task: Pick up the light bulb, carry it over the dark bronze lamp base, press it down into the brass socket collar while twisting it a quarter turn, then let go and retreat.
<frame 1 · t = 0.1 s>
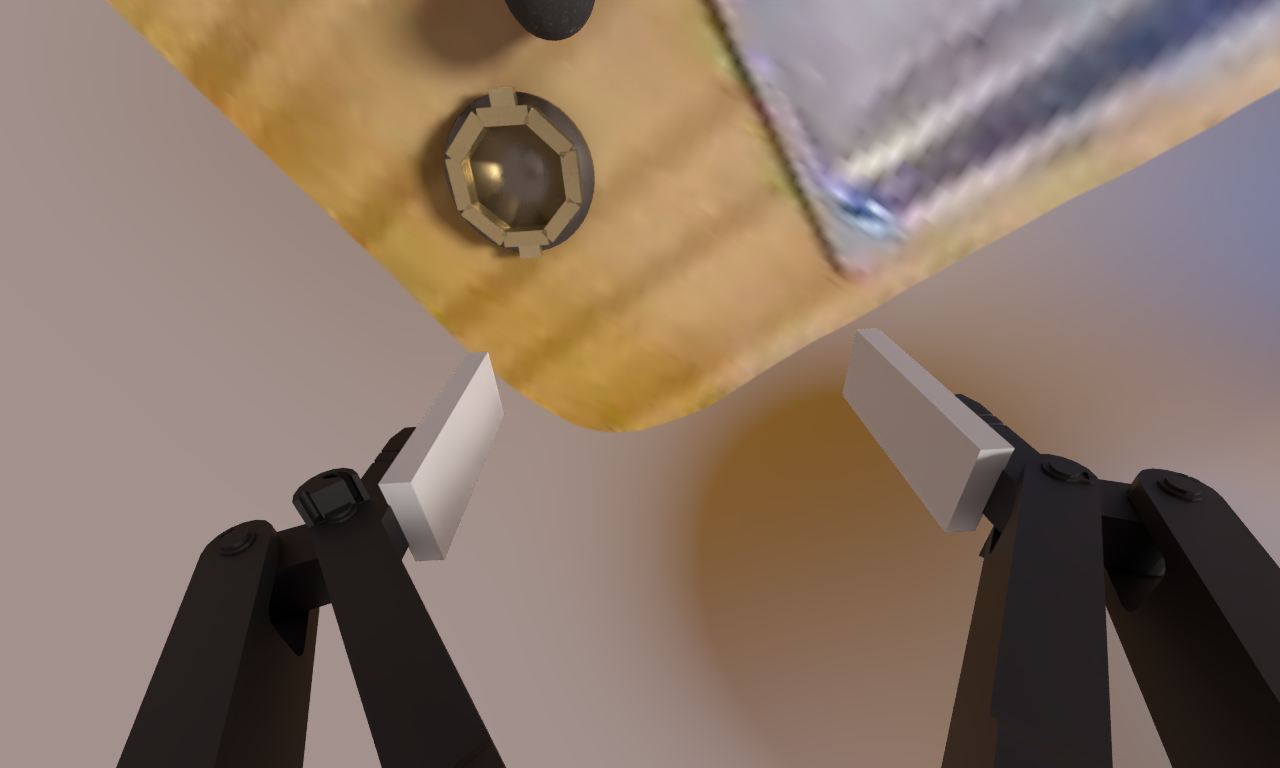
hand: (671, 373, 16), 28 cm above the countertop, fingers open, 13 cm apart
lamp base: (523, 175, 38), on the countertop
light bulb: (564, 5, 33), on the countertop
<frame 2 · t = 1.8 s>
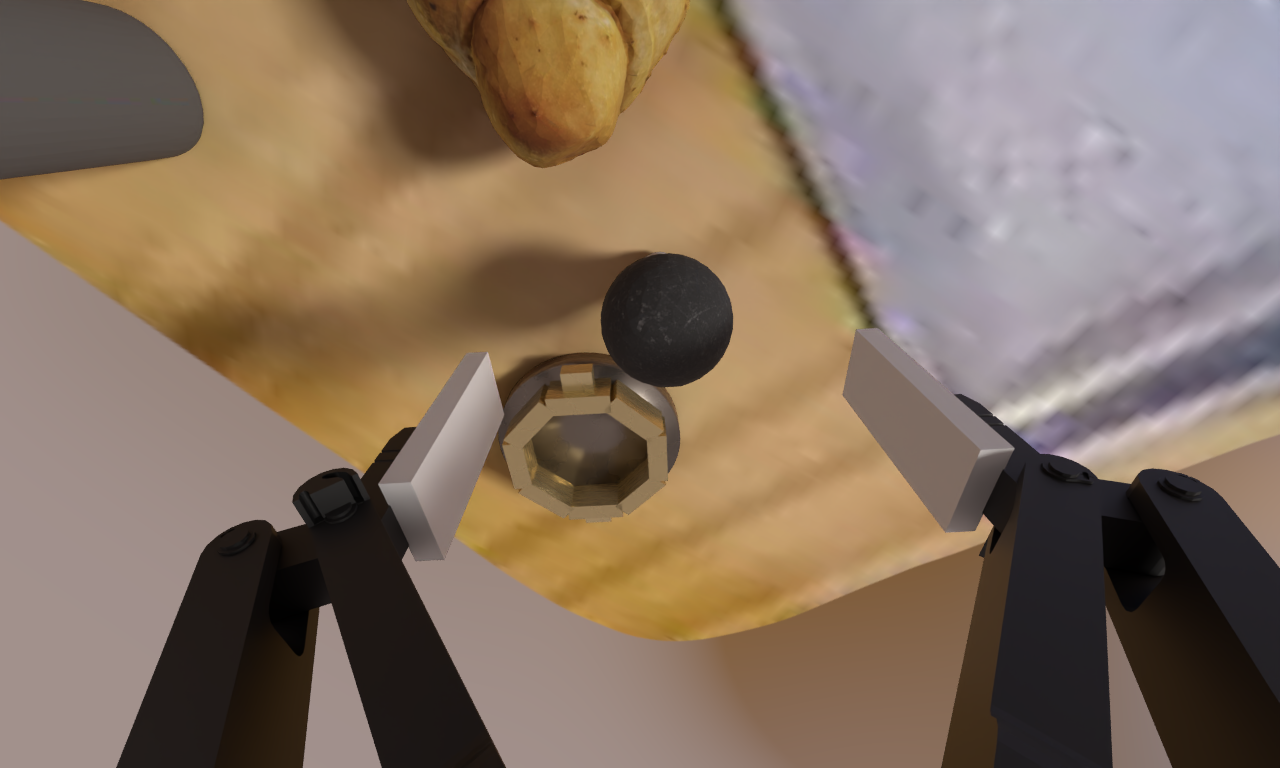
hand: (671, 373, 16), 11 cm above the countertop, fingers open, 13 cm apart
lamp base: (591, 429, 31), on the countertop
bottle: (137, 86, 21), on the countertop
light bulb: (657, 268, 26), on the countertop
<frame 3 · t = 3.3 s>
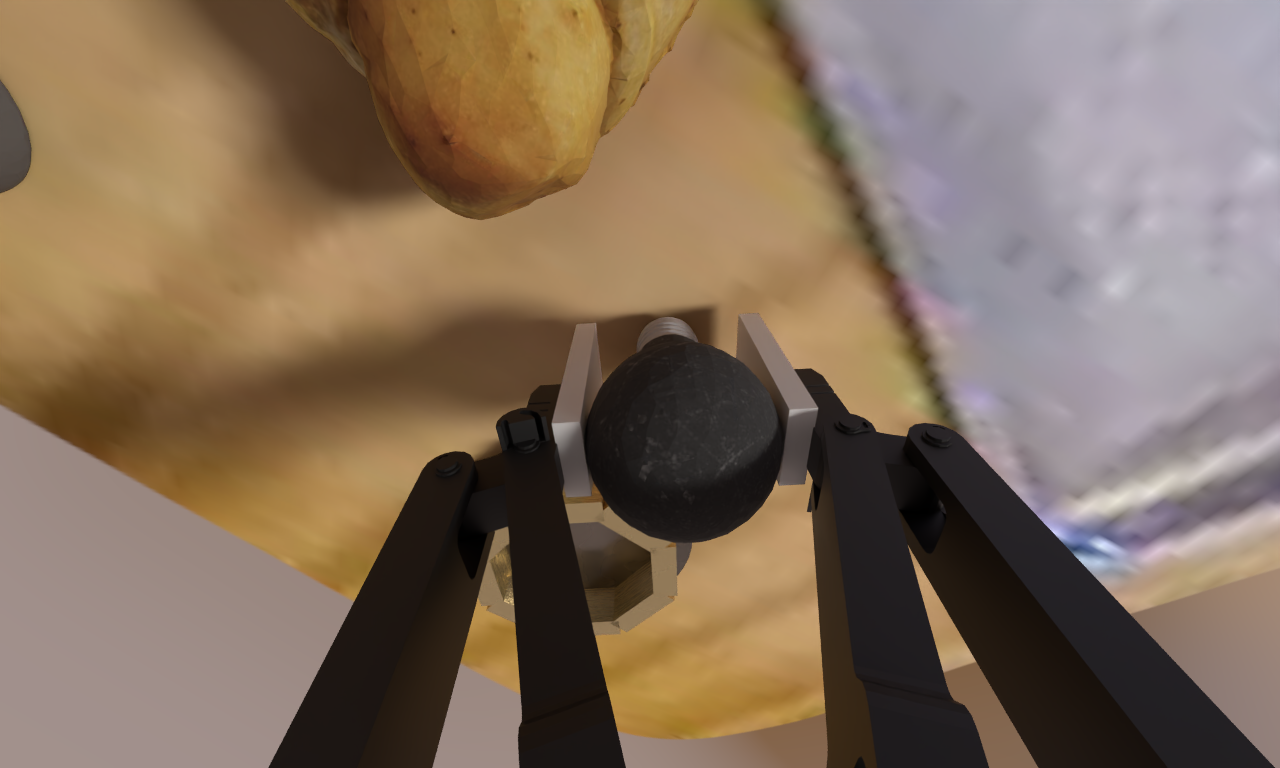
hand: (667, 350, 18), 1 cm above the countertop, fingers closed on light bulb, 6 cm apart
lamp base: (580, 521, 25), on the countertop
light bulb: (665, 333, 19), on the countertop, touching gripper
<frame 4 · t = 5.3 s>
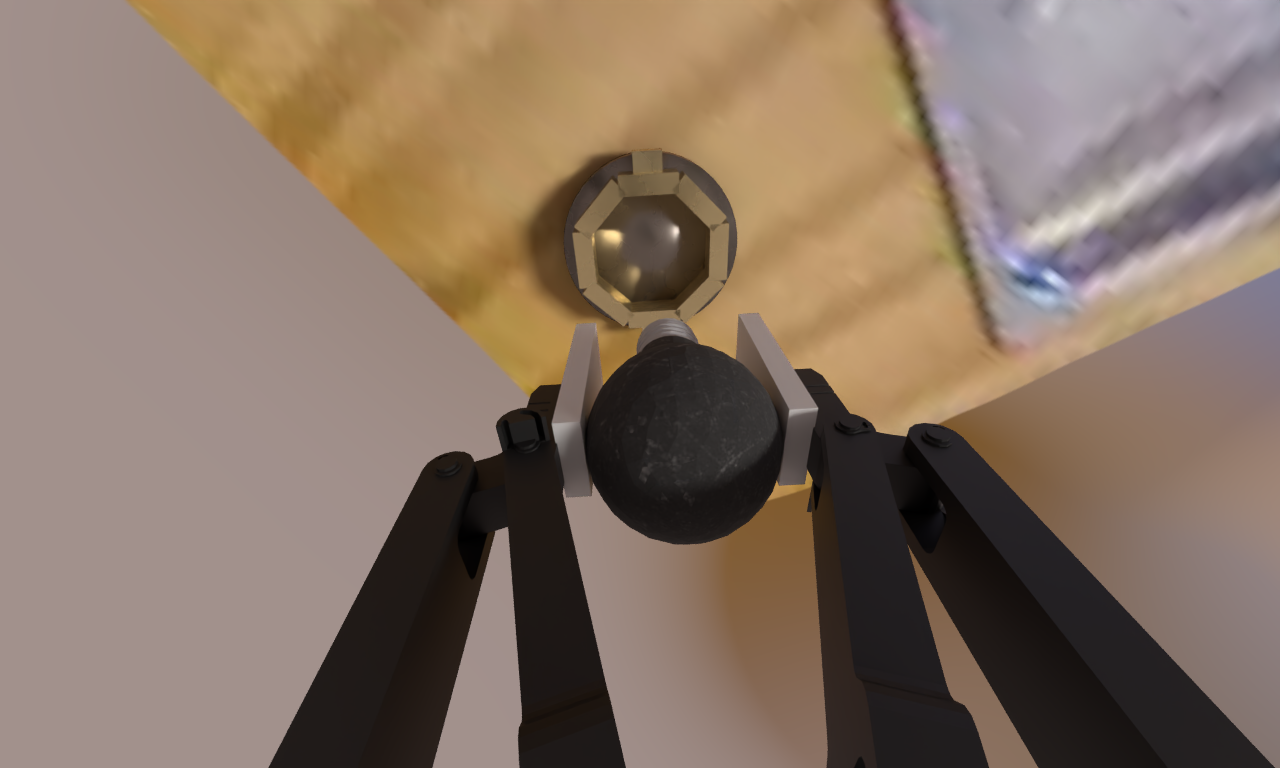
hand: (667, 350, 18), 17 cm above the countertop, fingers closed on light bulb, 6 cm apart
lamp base: (649, 243, 33), on the countertop
light bulb: (665, 334, 19), point 16 cm above the countertop, touching gripper
when the fingers open (4 cm above the countertop, at t = 7.7 s): light bulb drops 1 cm, resting on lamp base.
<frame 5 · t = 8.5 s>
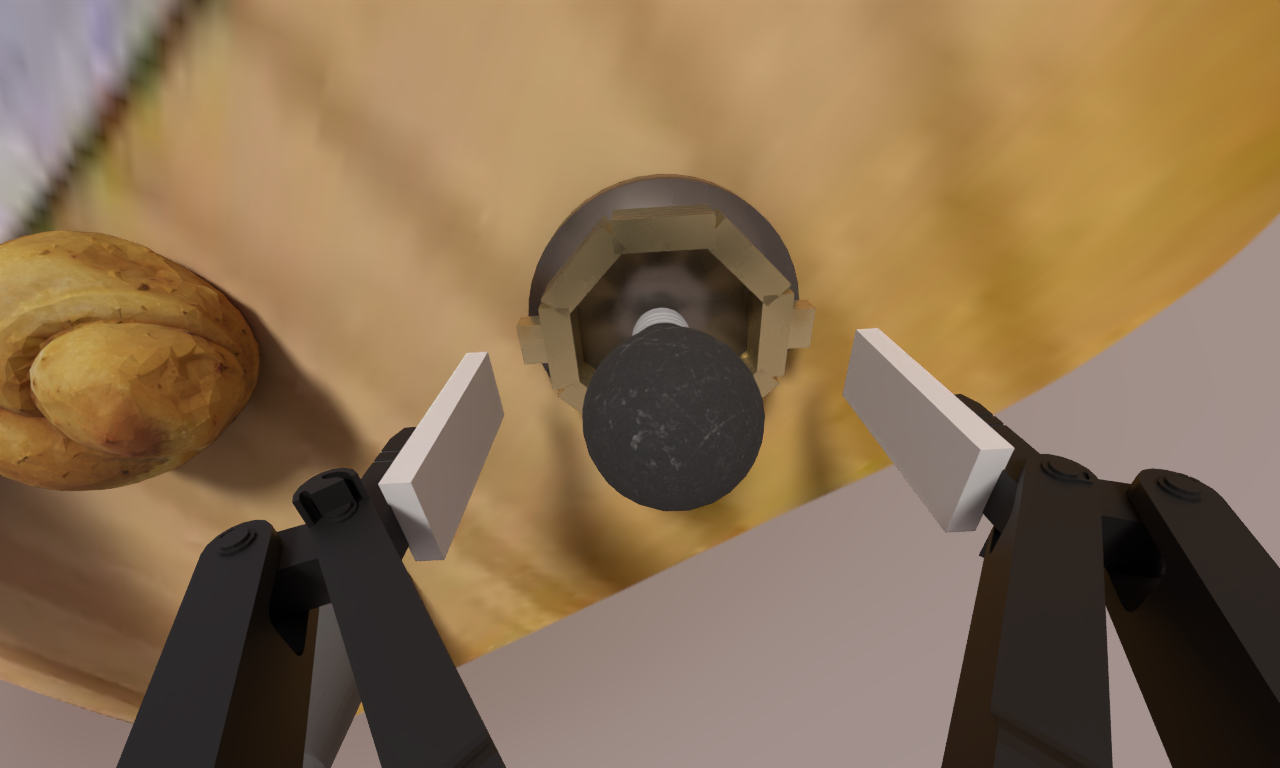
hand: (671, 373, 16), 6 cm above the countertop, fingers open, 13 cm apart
bread roll: (166, 343, 22), on the countertop
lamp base: (661, 311, 22), on the countertop
bottle: (370, 575, 32), on the countertop
light bulb: (659, 324, 20), point 1 cm above the countertop, touching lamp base
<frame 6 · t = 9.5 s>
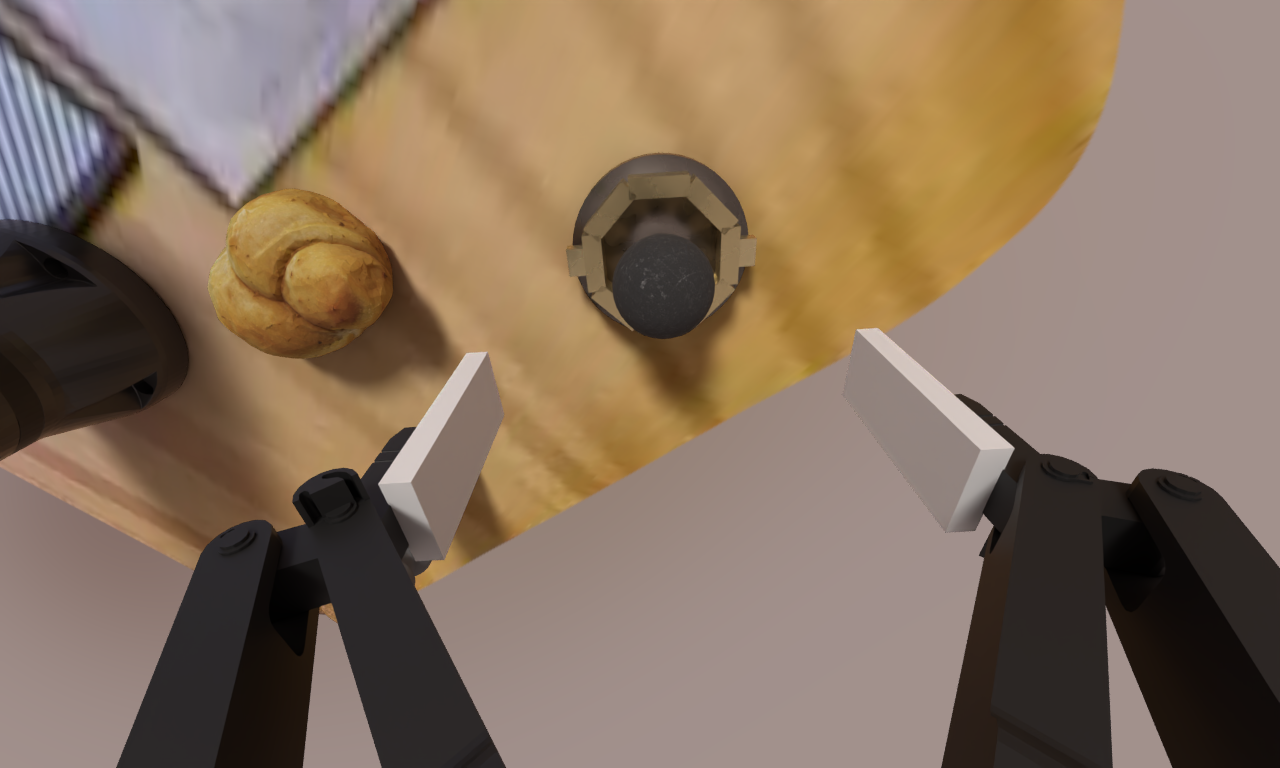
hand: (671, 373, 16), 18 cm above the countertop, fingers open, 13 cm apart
bread roll: (327, 270, 33), on the countertop
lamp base: (659, 247, 32), on the countertop
bottle: (443, 458, 42), on the countertop
light bulb: (657, 253, 31), point 1 cm above the countertop, touching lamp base
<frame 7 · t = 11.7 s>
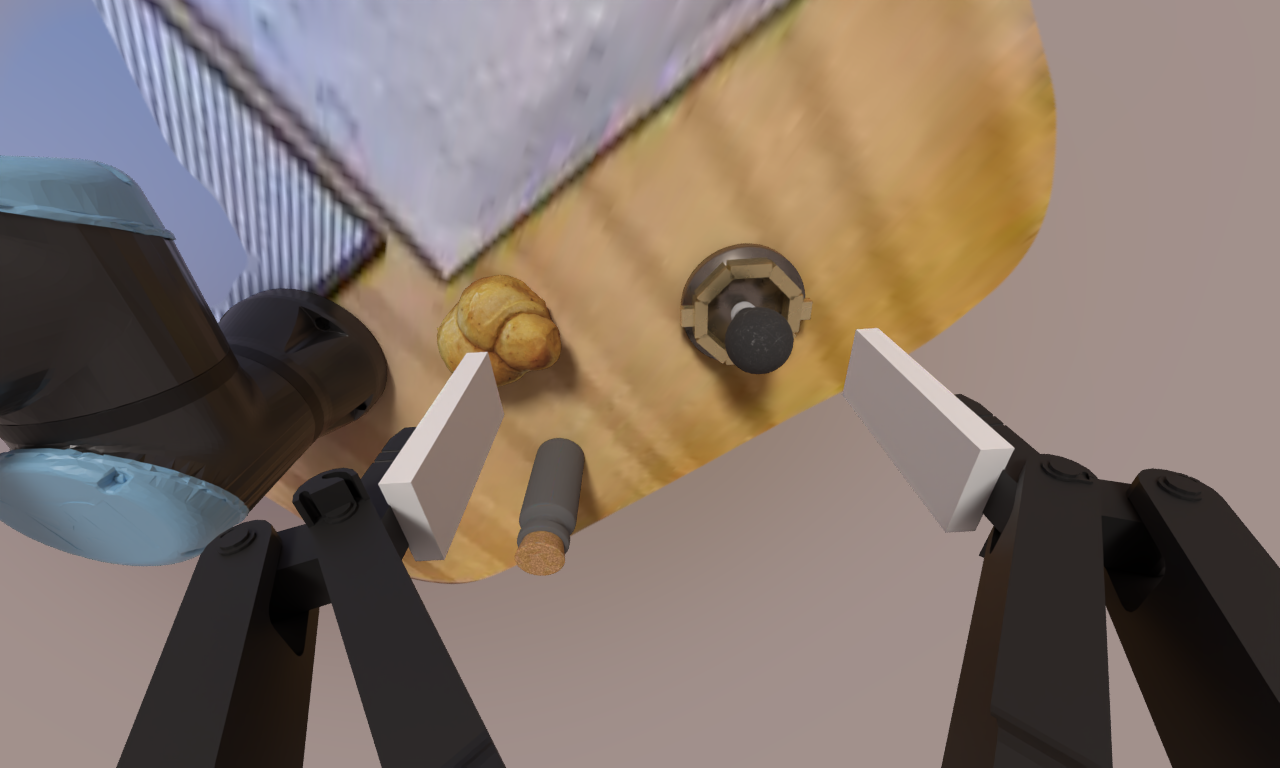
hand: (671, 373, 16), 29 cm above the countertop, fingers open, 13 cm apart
bread roll: (499, 324, 47), on the countertop
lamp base: (740, 303, 46), on the countertop
bottle: (561, 455, 56), on the countertop
light bulb: (741, 309, 44), point 1 cm above the countertop, touching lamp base
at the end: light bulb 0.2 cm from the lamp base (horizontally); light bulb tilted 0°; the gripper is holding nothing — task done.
